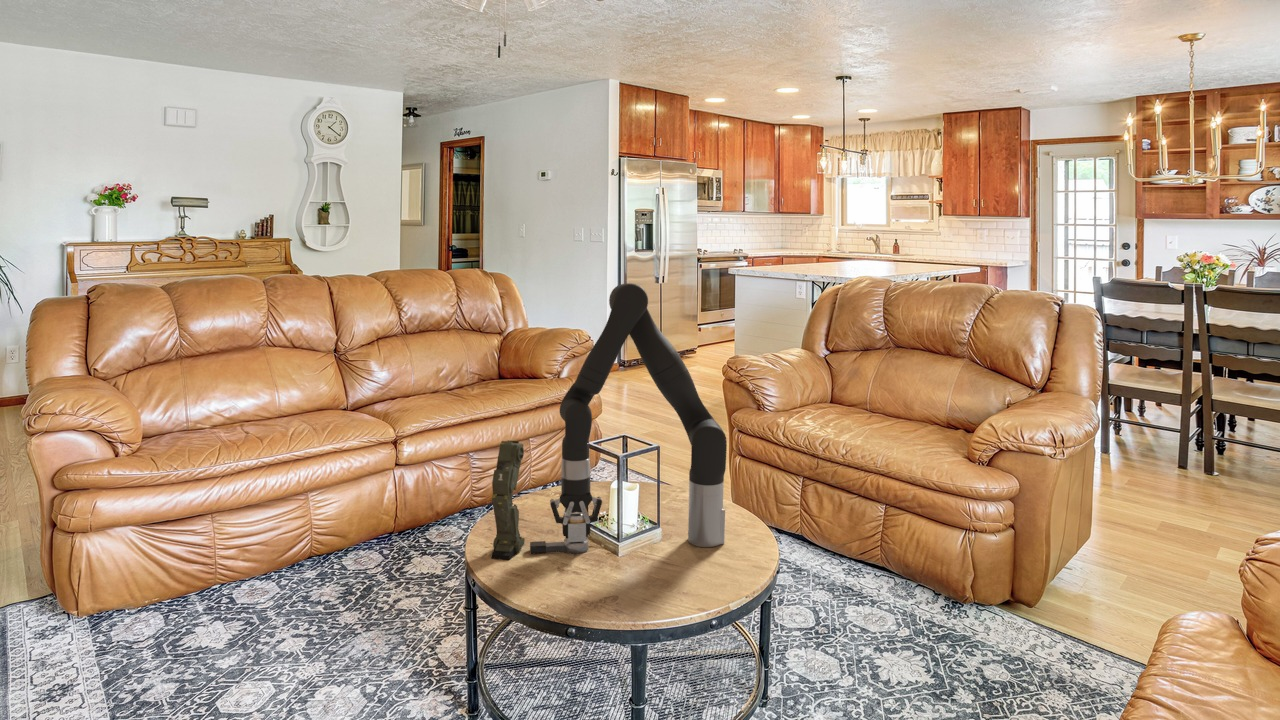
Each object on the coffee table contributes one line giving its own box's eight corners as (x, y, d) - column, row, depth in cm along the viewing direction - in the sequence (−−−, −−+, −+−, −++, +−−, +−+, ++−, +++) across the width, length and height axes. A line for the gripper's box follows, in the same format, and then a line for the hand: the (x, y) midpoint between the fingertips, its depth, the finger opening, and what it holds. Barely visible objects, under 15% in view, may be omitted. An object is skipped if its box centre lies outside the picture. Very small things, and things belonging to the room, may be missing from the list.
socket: (584, 534, 201) (584, 509, 200) (586, 541, 196) (586, 516, 195) (566, 535, 200) (566, 510, 199) (567, 542, 196) (567, 517, 194)
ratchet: (587, 543, 202) (587, 522, 201) (589, 553, 196) (589, 531, 195) (529, 547, 200) (529, 525, 199) (530, 557, 194) (530, 535, 193)
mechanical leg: (508, 563, 188) (516, 442, 190) (480, 560, 189) (489, 440, 191) (526, 553, 201) (534, 441, 204) (501, 551, 203) (508, 439, 205)
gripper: (601, 468, 200) (601, 529, 203) (547, 470, 198) (548, 532, 201) (605, 477, 193) (605, 540, 196) (548, 480, 191) (549, 544, 193)
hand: (576, 536), depth 198 cm, fingers closed on socket, 4 cm apart
